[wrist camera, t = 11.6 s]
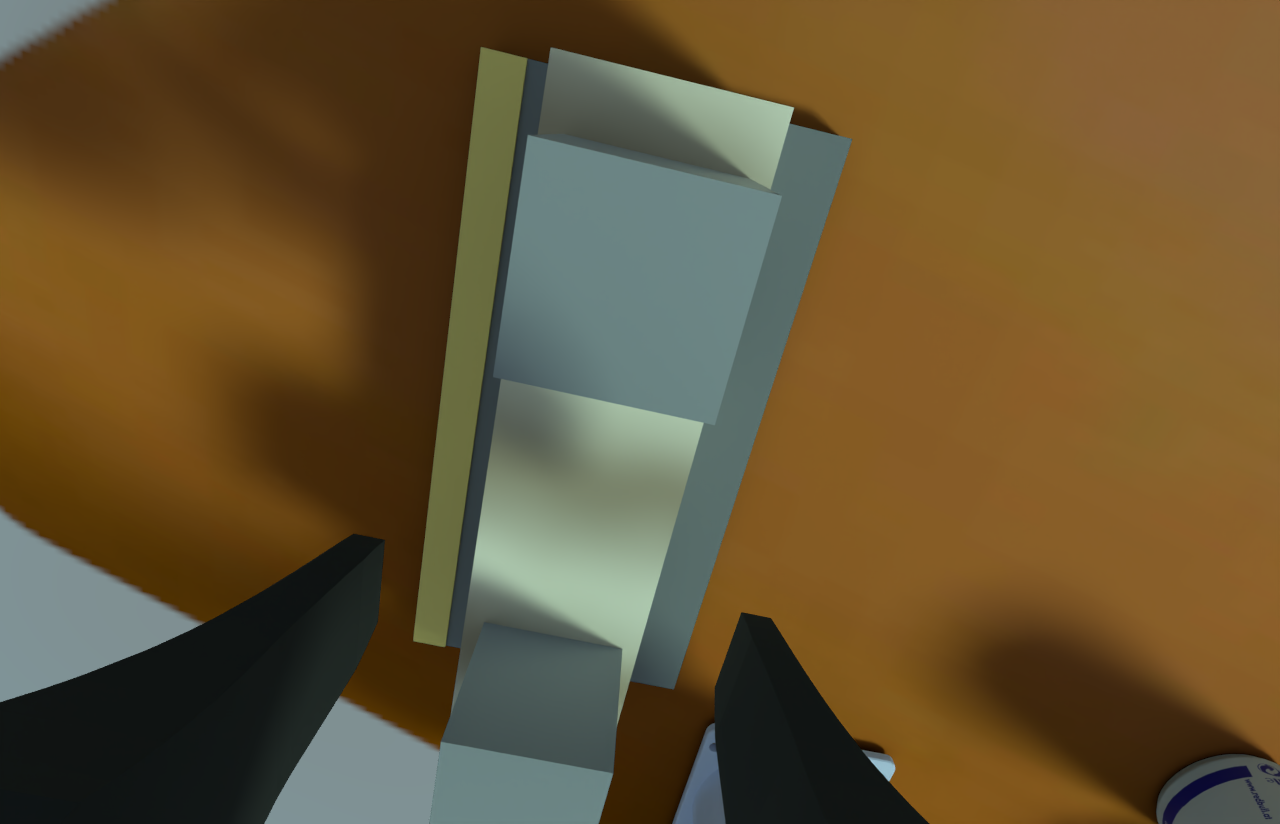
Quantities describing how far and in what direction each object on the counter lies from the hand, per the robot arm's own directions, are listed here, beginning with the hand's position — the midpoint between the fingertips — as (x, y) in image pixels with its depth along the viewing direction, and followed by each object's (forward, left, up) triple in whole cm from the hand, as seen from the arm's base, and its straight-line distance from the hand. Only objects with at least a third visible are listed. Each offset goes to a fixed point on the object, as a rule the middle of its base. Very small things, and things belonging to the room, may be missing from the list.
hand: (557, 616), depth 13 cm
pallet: (0, 0, -9) cm, 9 cm away
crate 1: (-6, 0, -4) cm, 8 cm away
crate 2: (+7, 0, -4) cm, 8 cm away
